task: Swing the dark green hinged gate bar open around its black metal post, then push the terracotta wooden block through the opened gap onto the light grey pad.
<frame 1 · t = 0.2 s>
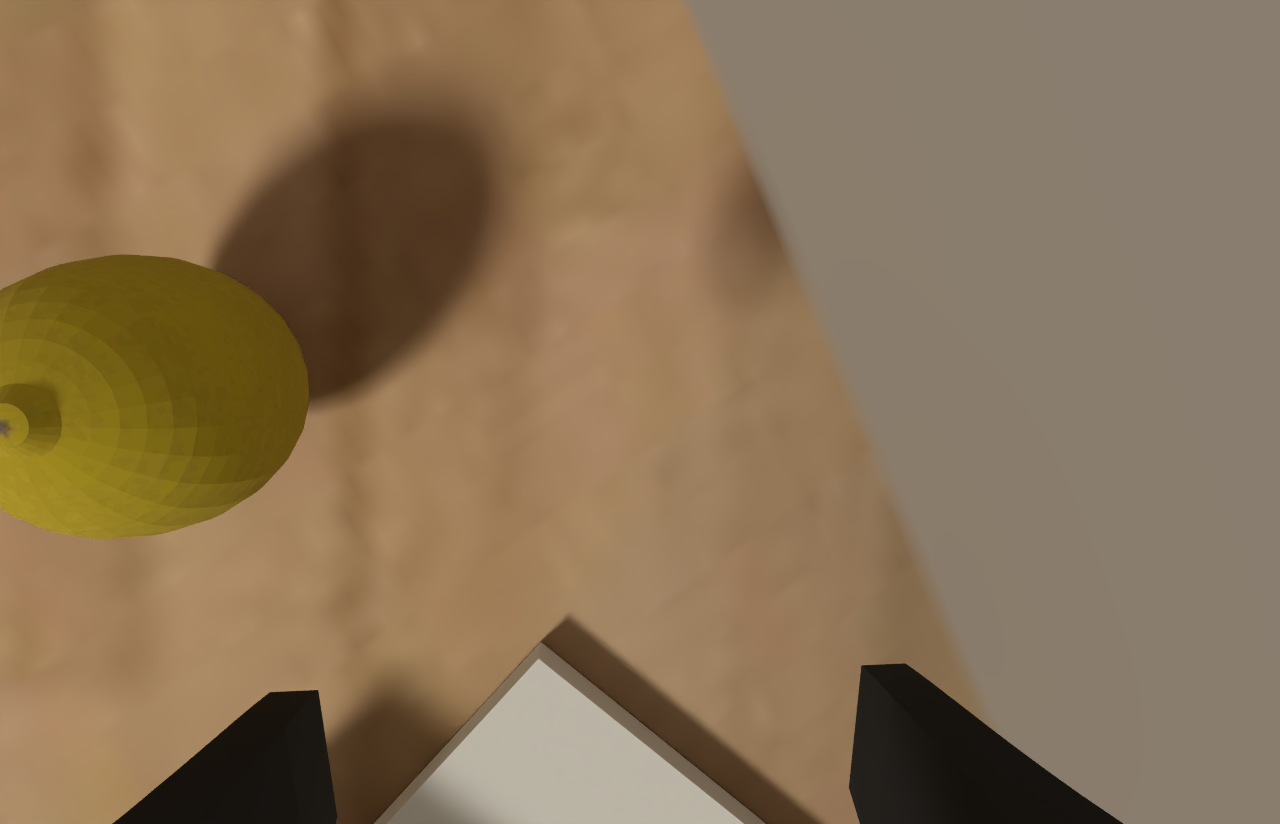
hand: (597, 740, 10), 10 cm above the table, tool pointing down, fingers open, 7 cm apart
lemon: (245, 375, 19), on the table
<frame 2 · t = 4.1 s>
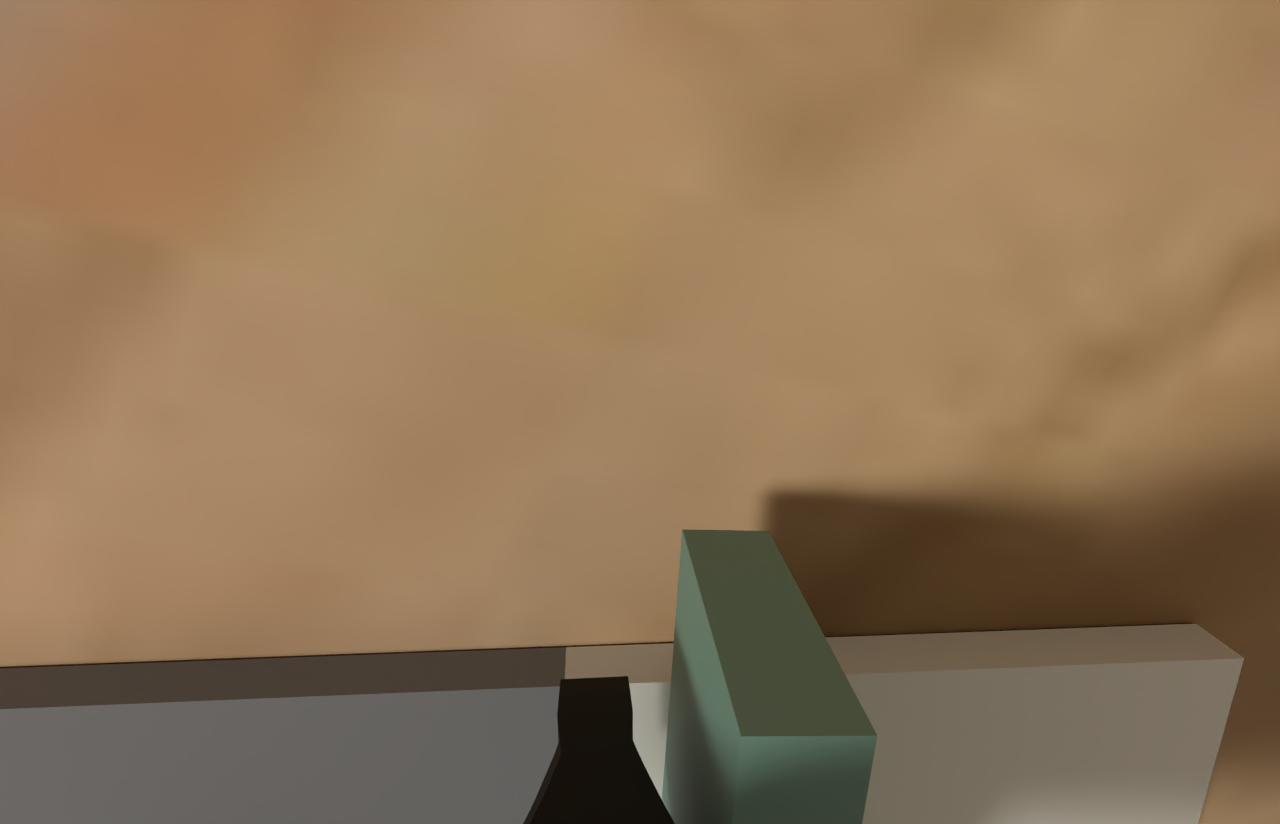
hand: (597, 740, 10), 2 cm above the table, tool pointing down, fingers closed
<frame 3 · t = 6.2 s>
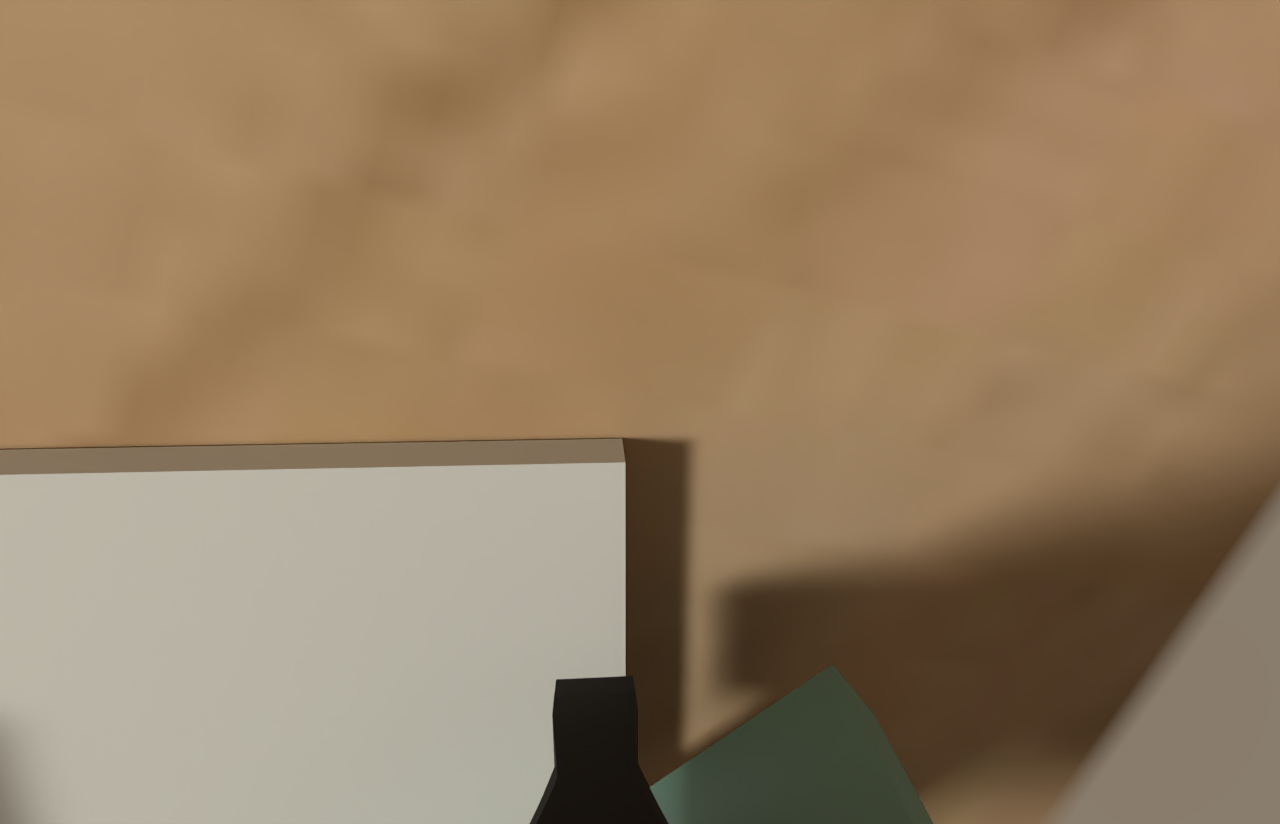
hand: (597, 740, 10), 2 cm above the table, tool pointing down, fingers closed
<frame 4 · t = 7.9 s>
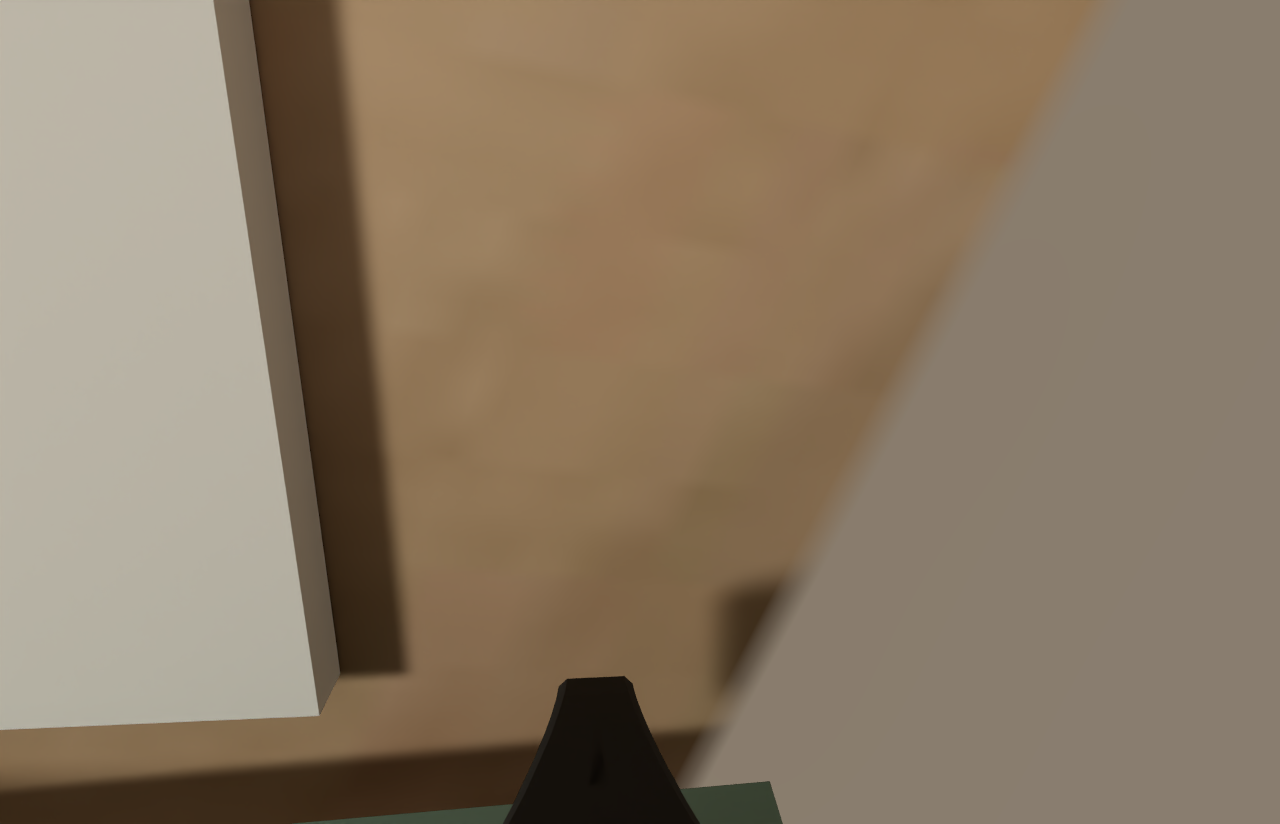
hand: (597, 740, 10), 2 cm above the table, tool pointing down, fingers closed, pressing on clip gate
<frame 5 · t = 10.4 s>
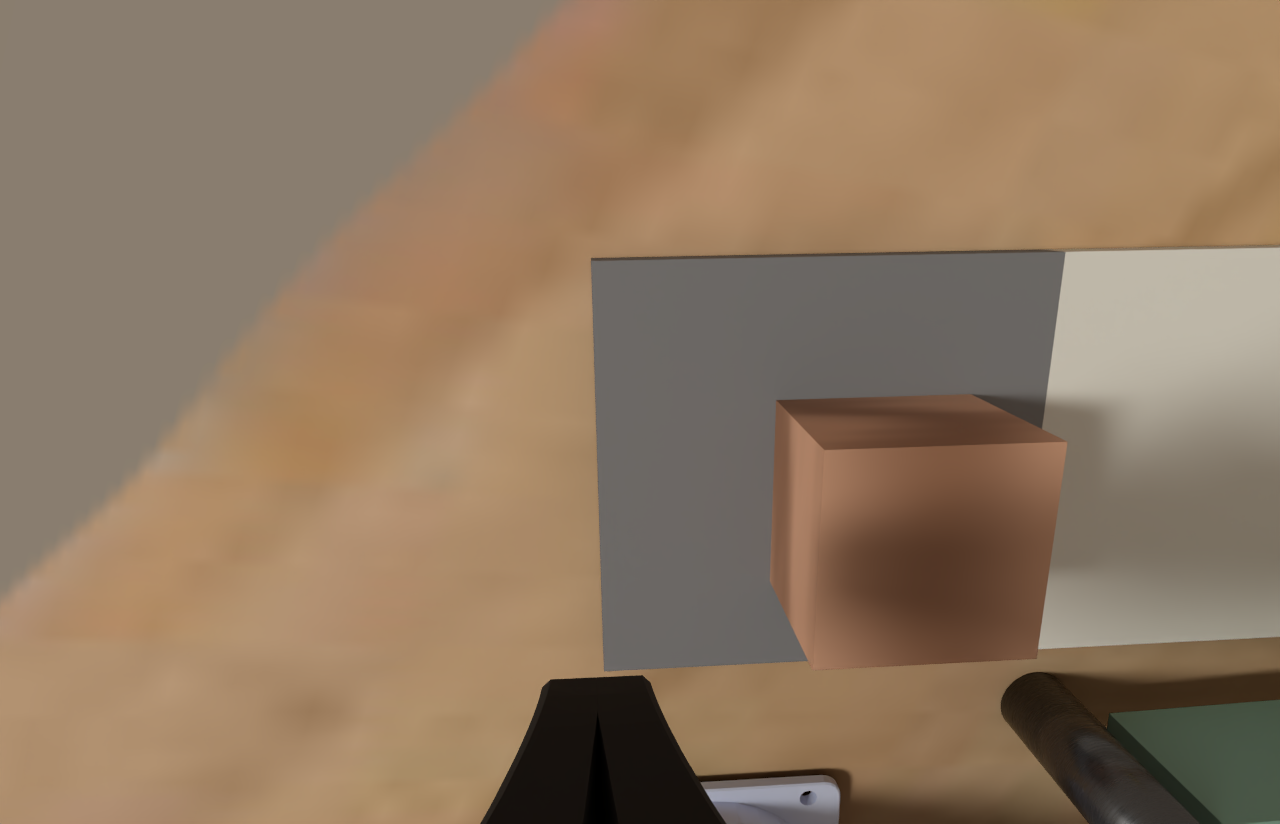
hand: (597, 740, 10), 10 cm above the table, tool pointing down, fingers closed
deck: (998, 454, 21), on the table
gate post: (1032, 701, 23), on the table
block: (867, 490, 19), point 1 cm above the table, touching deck
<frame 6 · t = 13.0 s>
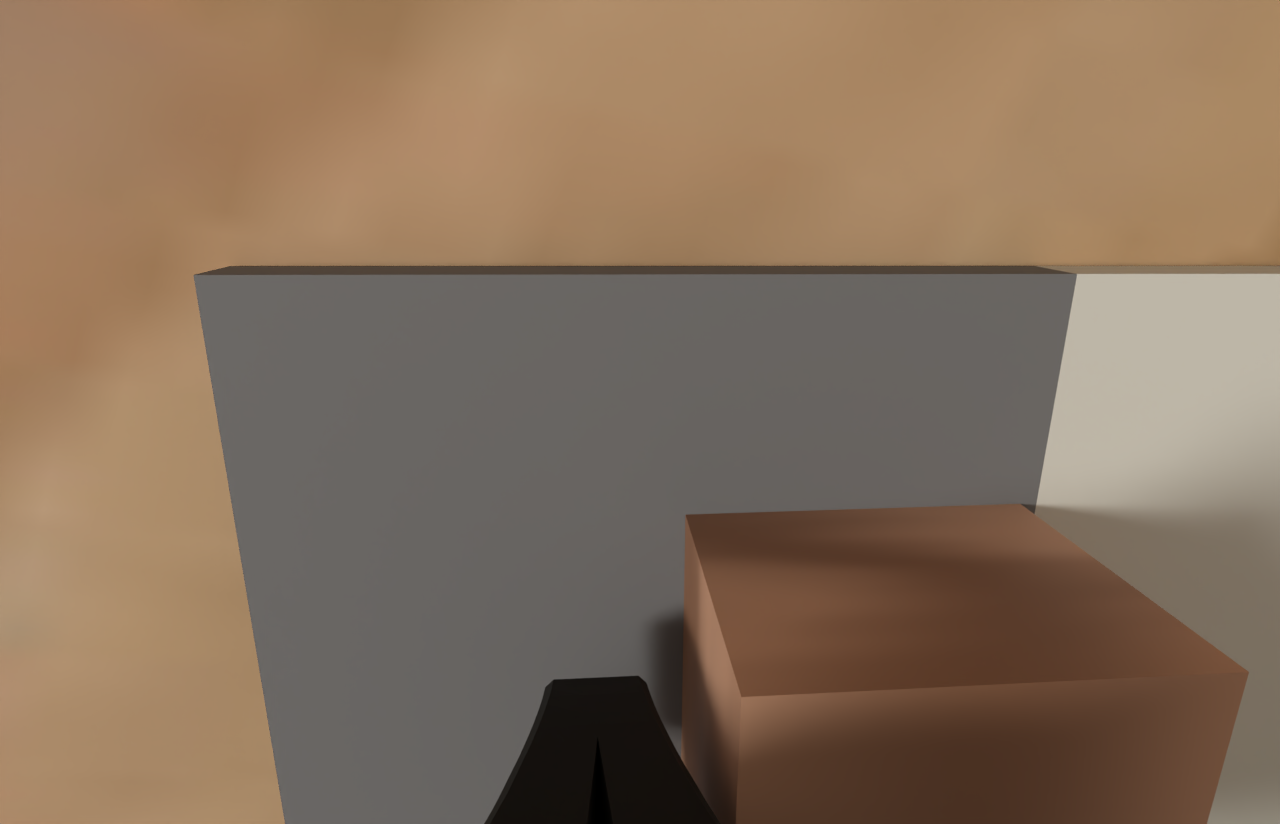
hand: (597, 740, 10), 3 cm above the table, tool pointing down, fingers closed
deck: (953, 595, 13), on the table
block: (842, 656, 12), point 1 cm above the table, touching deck, gripper
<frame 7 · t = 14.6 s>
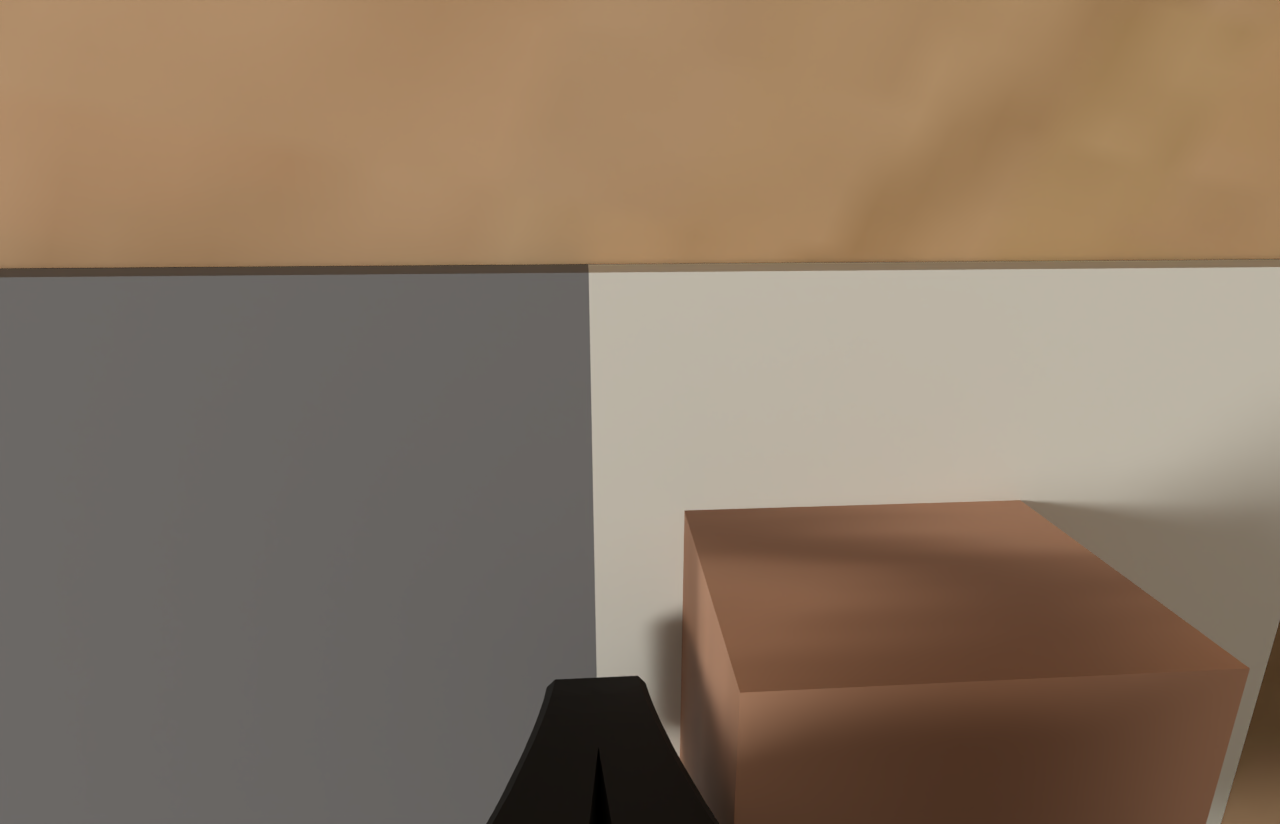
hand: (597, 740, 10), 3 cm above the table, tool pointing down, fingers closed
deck: (564, 607, 12), on the table
block: (841, 652, 12), point 1 cm above the table, touching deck, gripper
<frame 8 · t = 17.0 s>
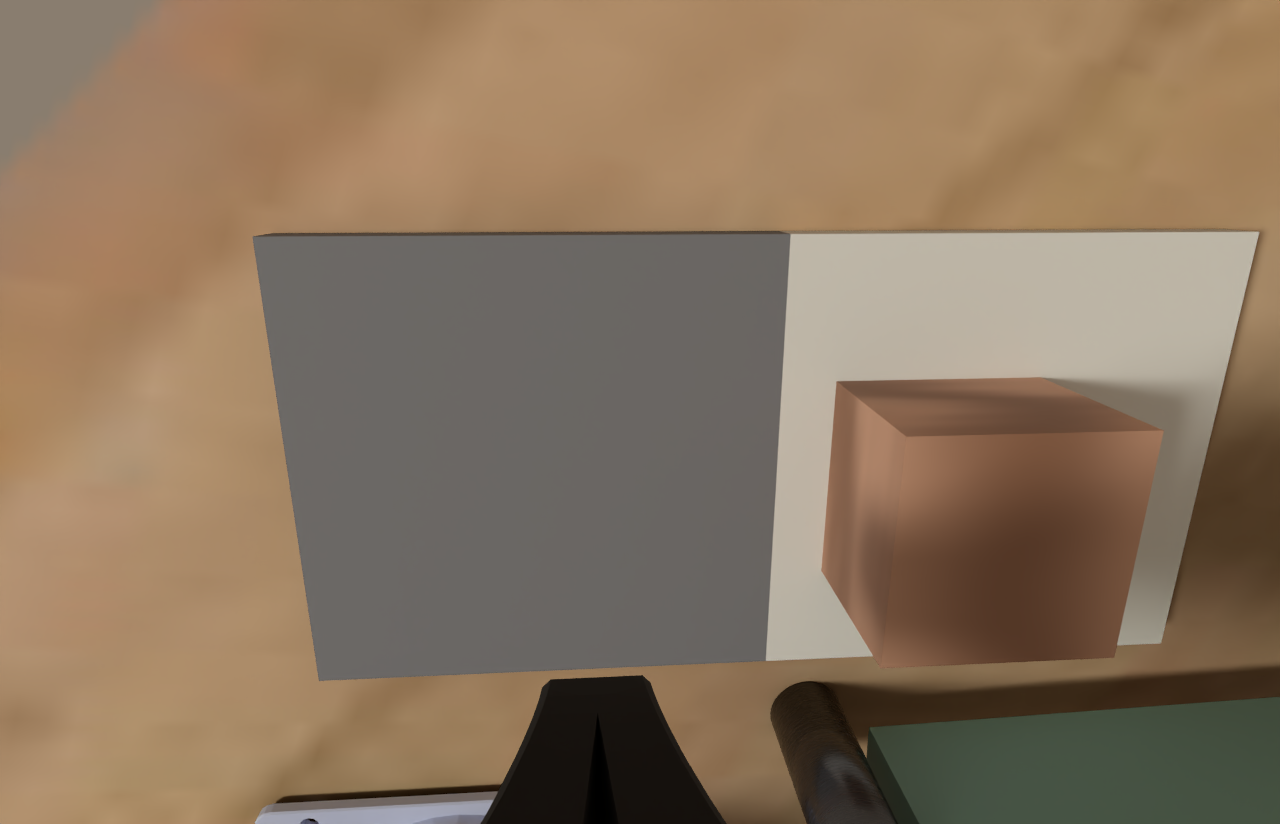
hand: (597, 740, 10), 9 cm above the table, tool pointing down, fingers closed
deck: (748, 452, 19), on the table
gate post: (804, 711, 22), on the table
block: (927, 477, 18), point 1 cm above the table, touching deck
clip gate: (1189, 781, 19), point 4 cm above the table, hinge at 88.4°
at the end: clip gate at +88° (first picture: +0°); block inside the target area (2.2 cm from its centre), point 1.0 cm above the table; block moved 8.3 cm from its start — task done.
